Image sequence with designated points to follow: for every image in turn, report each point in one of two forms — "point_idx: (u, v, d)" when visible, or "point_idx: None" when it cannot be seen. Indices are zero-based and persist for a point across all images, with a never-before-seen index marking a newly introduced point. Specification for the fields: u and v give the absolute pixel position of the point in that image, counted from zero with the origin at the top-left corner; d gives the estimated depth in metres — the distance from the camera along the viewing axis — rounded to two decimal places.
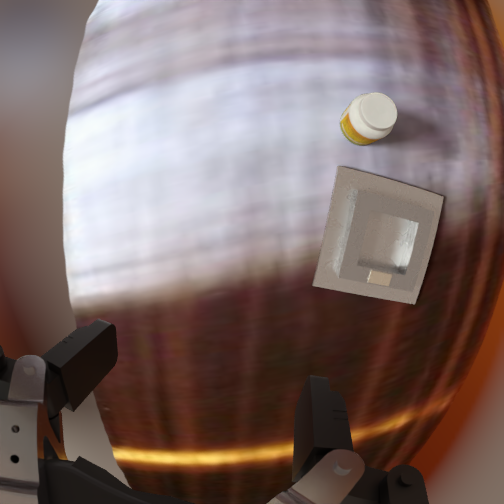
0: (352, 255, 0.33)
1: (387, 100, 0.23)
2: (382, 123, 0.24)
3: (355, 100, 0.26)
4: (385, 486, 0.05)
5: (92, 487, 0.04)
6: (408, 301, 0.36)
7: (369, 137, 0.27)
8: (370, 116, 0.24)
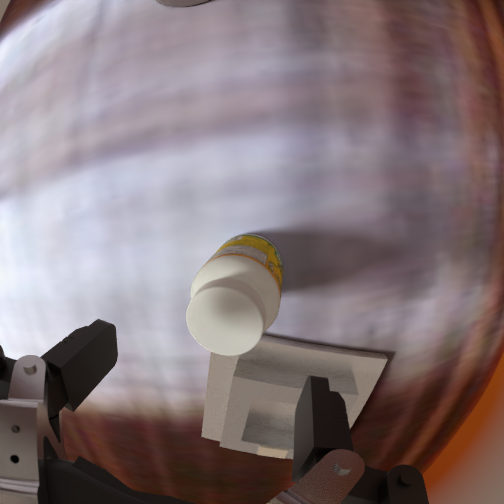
0: (233, 433, 0.24)
1: (242, 303, 0.13)
2: (228, 348, 0.14)
3: (197, 277, 0.16)
4: (385, 486, 0.05)
5: (92, 487, 0.04)
6: None
7: None
8: (204, 336, 0.14)
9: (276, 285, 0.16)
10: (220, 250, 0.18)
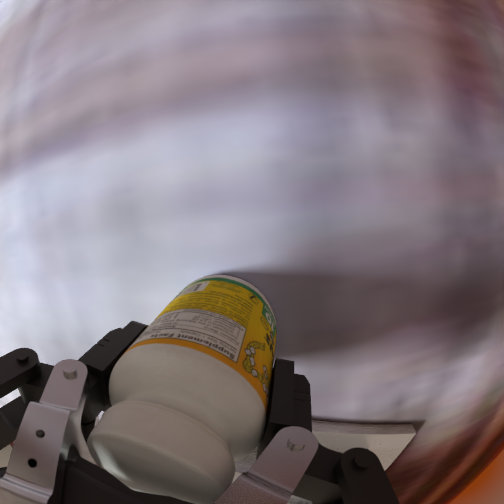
0: None
1: (177, 468, 0.05)
2: None
3: (112, 377, 0.07)
4: (340, 471, 0.05)
5: (92, 487, 0.04)
6: None
7: None
8: (126, 482, 0.05)
9: (258, 401, 0.07)
10: (162, 316, 0.10)
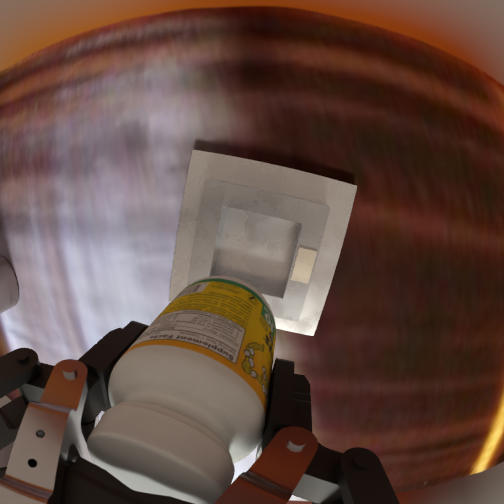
0: (269, 304, 0.26)
1: (176, 468, 0.05)
2: None
3: (112, 378, 0.07)
4: (340, 471, 0.05)
5: (92, 487, 0.04)
6: (351, 198, 0.25)
7: None
8: (126, 483, 0.05)
9: (257, 402, 0.07)
10: (161, 317, 0.10)
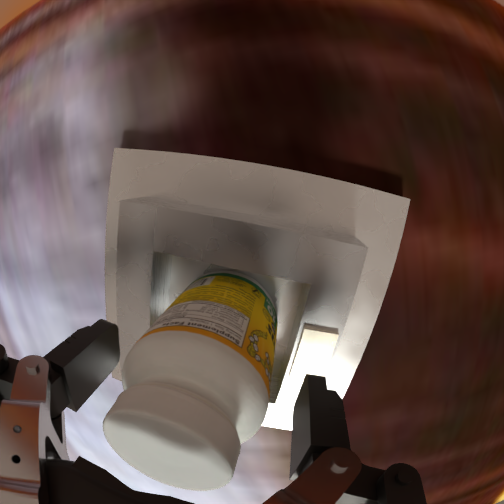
0: None
1: (188, 441, 0.06)
2: (178, 482, 0.06)
3: (126, 363, 0.08)
4: (382, 485, 0.05)
5: (92, 487, 0.04)
6: (400, 222, 0.13)
7: None
8: (138, 463, 0.06)
9: (261, 383, 0.08)
10: (171, 308, 0.11)
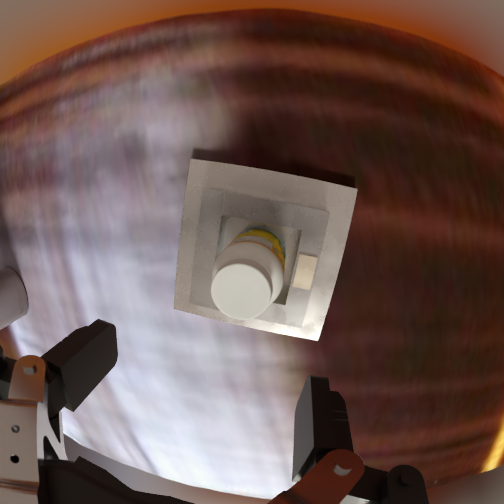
0: (272, 311, 0.26)
1: (254, 275, 0.18)
2: (243, 313, 0.19)
3: (218, 259, 0.20)
4: (385, 486, 0.05)
5: (92, 487, 0.04)
6: (352, 201, 0.25)
7: None
8: (224, 303, 0.19)
9: (280, 265, 0.20)
10: (235, 239, 0.23)
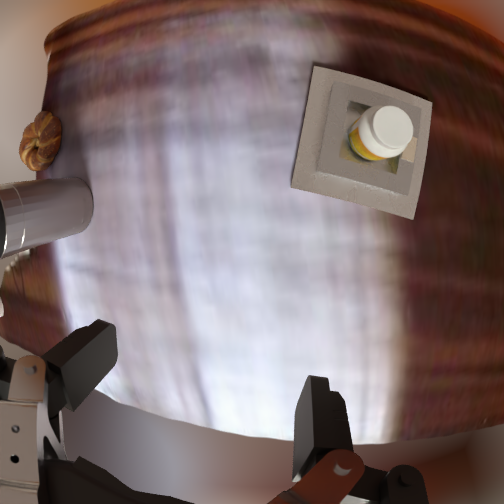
0: (386, 179, 0.28)
1: (402, 115, 0.20)
2: (396, 141, 0.21)
3: (366, 113, 0.23)
4: (385, 486, 0.05)
5: (92, 487, 0.04)
6: (429, 110, 0.27)
7: (380, 155, 0.24)
8: (383, 133, 0.21)
9: None
10: None
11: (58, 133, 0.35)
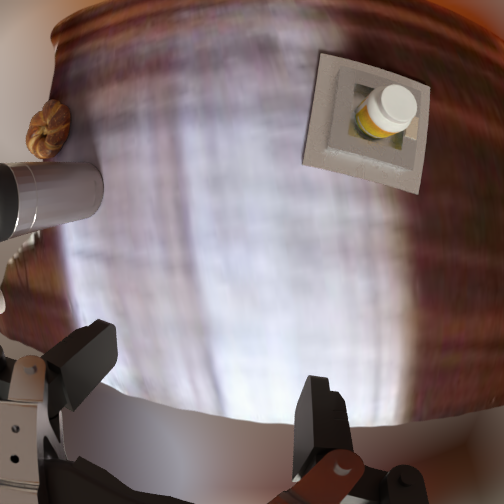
0: (392, 155, 0.29)
1: (407, 92, 0.21)
2: (402, 116, 0.22)
3: (373, 92, 0.24)
4: (385, 486, 0.05)
5: (92, 487, 0.04)
6: (428, 94, 0.29)
7: (388, 130, 0.25)
8: (390, 108, 0.22)
9: None
10: None
11: (67, 120, 0.36)
